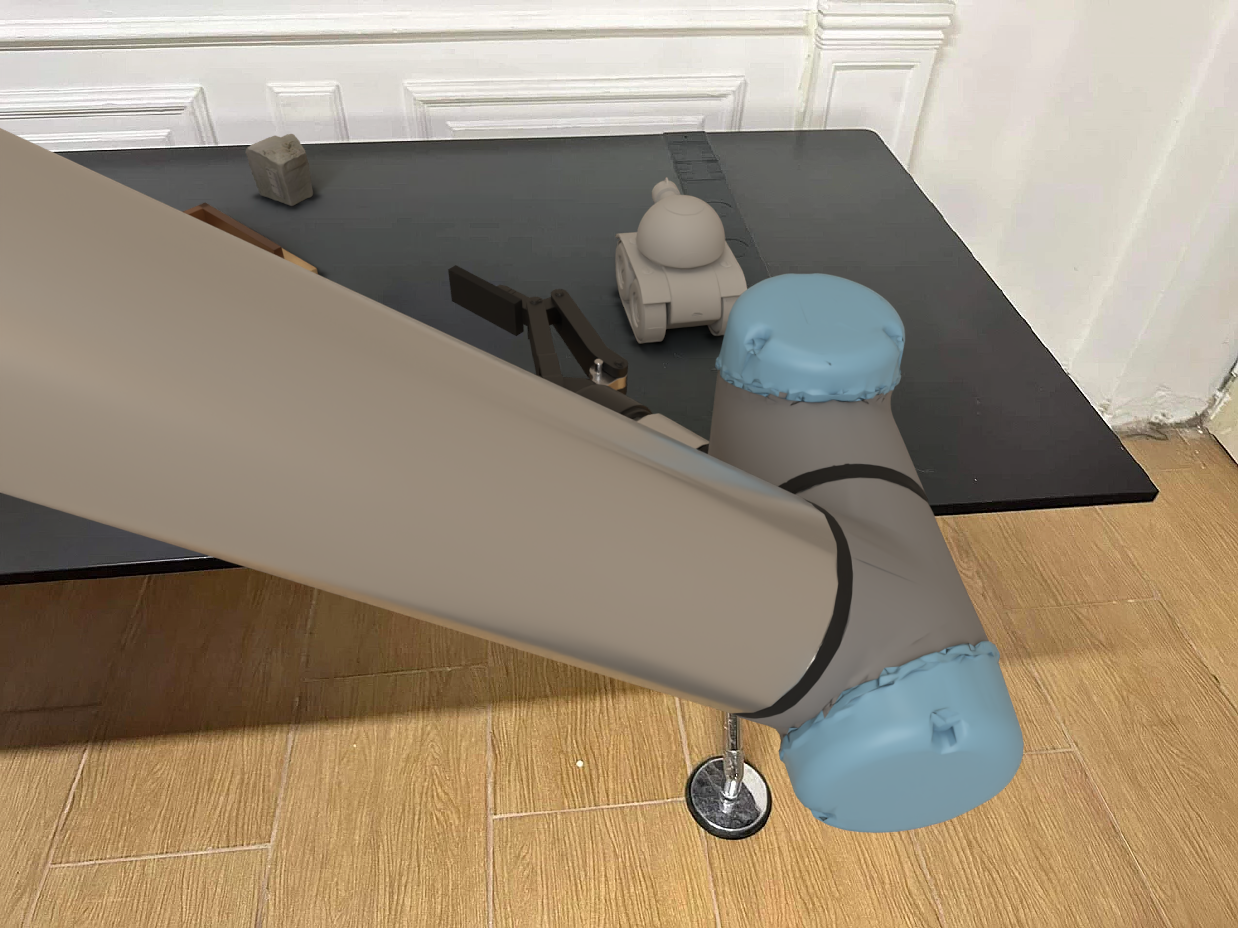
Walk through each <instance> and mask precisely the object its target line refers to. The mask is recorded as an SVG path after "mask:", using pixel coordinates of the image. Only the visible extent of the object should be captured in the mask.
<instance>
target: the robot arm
mask: <svg viewBox="0 0 1238 928" xmlns="http://www.w3.org/2000/svg"><path fill="white" fill-rule="evenodd" d="M447 273H448V281H449V288H450V289H449V290H450V297H451V298H450V299H451V302H453V303H454V304H456V305H458V306H459V307H461V308H463V309H465V310H466V311H468V312H470V313H473V314H474V315H475V316H478V317H480V318H482V319H483V320H485V321H487V322H489V323H491V324H493V325H495V326H497V327H498V328H501V329H502V330H504V331H506V332H508V333H509V334H511V335H513V336H514V337H518V336H520V335H521V334H522V333H524V332H525V330H524V328H525V327H527V340H529V345H530V350H531V355H532V356H531V357H532V360H533V365H534V370H535V374H534V373H533V372H530V371H528V370H525V369H524V368H521V367H519V366H517V365H515V364H513V363H511V362H509V361H506V360H505V359H503V358H499V357H497V356H496V355H493V354H491V353H490V352H488V351H485V350H483V349H480V348H478V347H476V346H474V345H473V344H469V343H467V342H466V341H463V340H462V339H459V338H457V337H454V336H452V335H451V334H448V333H445V332H444V331H441V330H439V329H437V328H435V327H432V326H430V325H428V324H426V323H424V322H422V321H420V320H417V319H415V318H413V317H411V316H409V315H408V314H404V313H402V312H400V311H398V310H396V309H393V308H391V307H389V306H388V305H385V304H383V303H381V302H378V301H376V300H374V299H372V298H370V297H368V296H366V295H363V294H361V293H359V292H356V291H355V290H352V289H350V288H348V287H346V286H344V285H342V284H341V283H337V282H335V281H333V280H331V279H328V278H326V277H324V276H322V275H320V274H319V273H318V274H316V273H314V272H311V271H309V270H307V269H305V268H303V267H301V266H298V265H296V264H294V263H292V262H290V261H288V260H285V259H283V258H281V257H279V256H277V255H275V254H272V253H270V252H268V251H266V250H264V249H262V248H259V247H257V246H255V245H253V244H251V243H249V242H246V241H244V240H242V239H240V238H238V237H236V236H233V235H231V234H229V233H227V232H225V231H223V230H220V229H218V228H216V227H214V226H212V225H210V224H207V223H205V222H203V221H201V220H199V219H196V218H194V217H192V216H190V215H188V214H186V213H183V211H182V210H179V209H177V208H175V207H172V206H170V205H168V204H166V203H164V202H162V201H160V200H158V199H155V198H153V197H151V196H148V195H146V194H145V193H143V192H141V191H138V190H135V189H133V188H131V187H129V186H127V185H124V184H123V183H120V182H119V181H117V180H114V179H112V178H110V177H108V176H106V175H103V174H101V173H99V172H97V171H94V170H92V169H90V168H88V167H86V166H83V165H81V164H79V163H77V162H75V161H73V160H71V159H69V158H66V157H64V156H62V155H59V154H58V153H55V152H54V151H51V150H49V149H47V148H45V147H43V146H40V145H38V144H37V143H34V142H32V141H30V140H28V139H25V138H24V137H21V136H18V135H17V134H15V133H12V132H10V131H8V130H5V129H4V128H1V127H0V493H1V494H4V495H7V496H10V497H13V498H16V499H20V500H23V501H26V502H29V503H33V504H36V505H40V506H43V507H47V508H49V509H53V510H57V511H60V512H63V513H66V514H68V515H69V514H70V515H73V516H76V517H79V518H83V519H85V520H89V521H91V522H92V521H93V522H96V523H99V524H103V525H105V526H109V527H112V528H116V529H119V530H123V531H126V532H128V533H132V534H136V535H138V536H143V537H146V538H149V539H152V540H155V541H159V542H162V543H165V544H168V545H171V546H176V547H179V548H182V549H185V550H189V551H192V552H195V553H199V554H201V555H204V556H209V557H211V558H216V559H219V560H221V561H225V562H228V563H231V564H233V565H238V566H241V567H245V568H248V569H251V570H254V571H258V572H261V573H264V574H265V573H266V574H268V575H271V576H274V577H277V578H281V579H284V580H287V581H291V582H294V583H298V584H300V585H305V586H308V587H311V588H314V589H318V590H321V591H323V592H328V593H330V594H333V595H337V596H341V597H344V598H347V599H350V600H353V601H357V602H360V603H363V604H367V605H369V606H374V607H377V608H380V609H384V610H387V611H390V612H394V613H397V614H401V615H403V616H407V617H410V618H413V619H417V620H419V621H423V622H427V623H430V624H433V625H437V626H440V627H442V628H446V629H450V630H453V631H455V632H460V633H463V634H466V635H469V636H472V637H475V638H479V639H482V640H486V641H489V642H492V643H495V644H499V645H502V646H506V647H509V648H512V649H516V650H519V651H522V652H526V653H528V654H533V655H535V656H539V657H542V658H545V659H549V660H552V661H555V662H558V663H562V664H565V665H569V666H572V667H574V668H578V669H581V670H585V671H589V672H591V673H595V674H599V675H601V676H605V677H608V678H611V679H615V680H618V681H621V682H624V683H627V684H631V685H634V686H638V687H641V688H644V689H648V690H650V691H651V690H652V691H655V692H658V693H661V694H664V695H668V696H671V697H674V698H678V699H680V700H685V701H687V702H692V703H693V704H696V705H697V704H698V705H701V706H704V707H708V708H711V709H714V710H718V711H721V712H724V713H727V714H730V715H734V716H736V717H738V718H740V719H743V720H746V721H749V722H752V723H756V724H759V725H763V726H766V727H769V728H772V729H774V730H775V731H776V732H777V733H778V735H779V739H780V743H779V750H778V756H779V757H778V758H779V760H780V761H781V762H782V764H784V766H785V769H786V772H787V775H788V779H789V781H790V785H791V788H792V791H793V793H794V795H795V797H796V798H797V800H798V801H799V802H800V803H801V805H802V806H803V807H804V808H807V809H808V810H809V811H810V813H811V814H812V815H811V816H812V817H813V818H814V819H816V820H818V821H819V822H821V823H823V824H825V825H827V826H829V827H833V828H836V829H838V830H842V831H847V832H855V833H870V834H879V833H880V834H885V833H886V834H887V833H898V832H899V833H900V832H905V831H906V832H907V831H912V830H913V831H914V830H918V829H924V828H926V827H931V826H934V825H938V824H942V823H945V822H948V821H950V820H953V819H955V818H958V817H959V816H962V815H964V814H967V813H968V812H970V811H972V810H975V809H976V808H978V807H980V806H981V805H984V804H985V803H987V802H989V801H991V800H992V799H994V798H995V797H996V796H997V795H998V794H1000V793H1001V792H1002V791H1003V790H1005V788H1006V787H1007V786H1008V785H1010V783H1011V782H1012V780H1013V779H1014V777H1015V776H1016V774H1017V772H1018V771H1019V769H1020V767H1021V764H1022V762H1023V761H1022V760H1023V757H1024V747H1025V746H1024V745H1025V743H1024V737H1023V731H1022V728H1021V725H1020V722H1019V719H1018V716H1017V713H1016V710H1015V707H1014V704H1013V701H1012V699H1011V694H1010V692H1009V688H1008V686H1007V683H1006V681H1005V678H1004V674H1003V672H1002V668H1001V665H1000V659H1001V654H1000V650H999V649H998V647H997V645H996V644H995V643H993V642H992V641H990V640H989V637H988V635H987V633H986V630H985V629H984V627H983V624H982V622H981V620H980V617H979V615H978V613H977V610H976V609H975V607H974V604H973V602H972V599H971V597H970V595H969V593H968V591H967V588H966V586H965V584H964V582H963V579H962V576H961V574H960V573H959V572H960V571H959V570H958V568H957V565H956V563H955V560H954V559H953V556H952V554H951V551H950V549H949V546H948V544H947V542H946V540H945V537H944V535H943V533H942V530H941V528H940V526H939V524H938V521H937V519H936V516H935V514H934V511H933V510H932V508H931V505H930V503H929V499H928V496H927V494H926V491H925V489H924V487H923V484H922V482H921V480H920V477H919V475H918V472H917V470H916V468H915V465H914V462H913V461H912V458H911V456H910V453H909V451H908V448H907V446H906V444H905V441H904V439H903V437H902V435H901V433H900V430H899V427H898V425H897V423H896V420H895V418H894V415H893V412H892V405H891V404H892V403H891V401H892V394H893V392H894V390H895V387H897V386H898V385H899V384H900V381H901V378H902V375H901V374H902V369H901V364H902V359H903V354H904V350H905V349H904V347H905V343H906V330H905V326H904V323H903V321H902V319H901V316H900V315H899V313H898V312H897V310H896V308H894V306H893V305H892V304H891V303H890V302H889V301H888V300H887V299H886V298H884V297H883V296H882V295H881V294H879V293H877V292H876V291H875V290H873V289H872V288H870V287H868V286H865V285H863V284H861V283H858V282H857V281H855V280H854V281H853V280H851V279H848V278H845V277H842V276H838V275H833V274H828V273H821V272H814V273H792V272H790V273H783V274H779V275H775V276H771V277H768V278H765V279H763V280H760V281H759V282H756V283H755V284H754V285H751V286H750V287H747V290H746V291H745V292H743V293H742V294H741V295H740V297H739V298H738V299H737V300H736V302H735V303H734V305H733V307H732V309H731V311H730V313H729V317H728V322H727V326H726V330H725V334H724V335H723V339H722V344H721V347H720V352H719V354H718V356H717V357H716V358H715V366H714V368H715V369H716V371H717V372H716V373H717V374H716V384H715V391H714V400H713V407H712V408H713V409H712V414H711V416H712V417H711V424H710V431H709V432H710V434H709V440H708V439H706V438H704V437H702V436H701V435H698V434H697V433H695V432H693V431H692V430H691V429H689V428H687V427H685V426H683V425H681V424H679V423H678V422H676V421H674V420H672V419H671V418H669V417H667V416H665V415H664V414H662V413H658V412H657V413H653V412H652V410H651V409H650V408H649V407H648V406H647V405H644V404H642V403H640V402H639V401H637V400H635V399H633V398H631V397H630V396H628V395H627V394H628V378H629V361H628V360H627V358H625V357H623V356H621V355H620V354H618V353H617V352H615V351H614V350H612V349H611V348H609V347H608V345H606V343H605V342H604V340H603V339H602V337H601V336H600V335H599V334H598V332H597V331H596V329H595V328H594V326H593V325H592V323H591V322H590V321H589V320H588V318H587V317H586V316H585V314H584V313H583V311H582V310H581V309H580V307H579V306H578V305H577V302H575V300H574V299H573V297H572V296H571V295H570V293H569V292H568V291H567V290H566V289H563V288H556V289H554V290H552V291H551V292H550V296H548V297H546V298H542V297H541V296H530V297H529V296H527V295H526V294H523V293H522V292H520V291H518V290H515V289H513V288H512V287H509V286H508V285H505V284H498V285H495V284H493V283H492V282H489V281H487V280H486V279H483V278H482V277H479V275H478V276H477V275H476V274H474V273H472V272H470V271H469V270H466V269H464V268H462V267H460V266H458V265H454V266H451V267H450V268H447ZM524 326H525V327H524ZM551 326H552V327H553V328H554V329H555V331H556V332H557V334H558V336H559V337H560V338H561V340H562V341H563V343H564V344H565V345H566V347H567V349H568V350H569V352H570V353H571V355H572V356H573V358H574V359H575V361H576V362H577V364H578V365H579V367H580V368H581V370H582V371H583V373H584V374H585V376H586V377H587V378H586V377H574V376H563V373H562V369H561V366H560V361H559V357H558V353H557V352H556V348H555V346H554V345H555V344H554V340H553V336H552V332H551V328H550V327H551Z"/></svg>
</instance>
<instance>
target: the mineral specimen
mask: <svg viewBox="0 0 1238 928" xmlns="http://www.w3.org/2000/svg"><path fill="white" fill-rule="evenodd" d="M245 155H246V157H247V161H248V166H249V169H250V170H251V175H252V177H253V180H254V182H255V186H256V188H257V190H258V193H259V195H260V196H262V197H266V198H269V199H271V200H273V201H276V202H280V203H283V204H284V205H288V206H290V207H293V206H295V205H298V204H299V203H300V202H303V201H304V200H306V199H309V198H311V197H313V195H314V191H313V185H312V178H311V171H310V169H311V168H310V163H309V159H308V155H307V153H306V150H305V148H304V146H303V144H302V143H301V141H300V140H299V139H298V137H297V136H296V135H295V134H294V133H288V134H285V135H282V136H278V135H271V136H269V137H267V138H265V139H262V140H259V141H257V142H254V143H252V144H250V145H249V146H245Z"/></svg>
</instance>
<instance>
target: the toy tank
mask: <svg viewBox="0 0 1238 928" xmlns="http://www.w3.org/2000/svg"><path fill="white" fill-rule="evenodd" d="M651 198H652V201H653V203H654V204H652V205H651V206H650V207H649V209H647V211H646V212H645V213H644V214H643V216H642V218H641V219H640V222H639V224H638V227H637V230H636V231H635V232H633V231H632V232H622V233H616V234H615V235H614V237H615V239H618V240H617V242H616V246H615V256H614V257H615V260H614V261H615V263H614V264H615V265H614V266H615V279H616V285H617V290H618V294H619V297H620V301H621V303H622V306H623V307H624V308H623V309H624V311H625V314H626V316H627V319H628V323H629V325H630V327H631V329H632V332H633V334H634V337H635V340H636V341H637V343H638V344H647V343H648V344H649V343H650V344H651V343H658V342H659V343H660V342H662V341H663V340H664V338H665V335H666V330H670V329H680V328H691V327H699V326H701V327H702V326H707V327H708V330H709V331H710V333H711V334H712V335H713V336H715V337H719V336H724V334H725V330H726V326H727V322H728V317H729V313H730V311H731V309H732V307H733V305H734V303H735V302H736V300H737V299H738V298H739V297H740V295H741V294H742V293H743V292H745V291H746V290H747V289H748V286H747V281H746V277H745V274H744V270H743V269H742V267H741V265H740V264H739V262H738V260H737V258H736V256H735V254H734V253H733V251H732V249H731V248H730V246H729V244H728V243H727V241H726V233H725V228H724V225H723V222H722V220H721V218H720V216H719V215H718V213H717V211H715V210H716V209H714V208H713V207H712V206H711V205H710V204H709V203H708V202H706V201H705V200H703V199H701V198H698V197H696V196H693V195H688V194H681V192H680V190H679V188H678V186H677V185H676V184H675V182H673V181H671V180H669V177H667V176H666V177H665V179H664V180H661V181H659V182H658V183H656V184H655V185H654V187H653V188H652V191H651Z"/></svg>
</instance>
